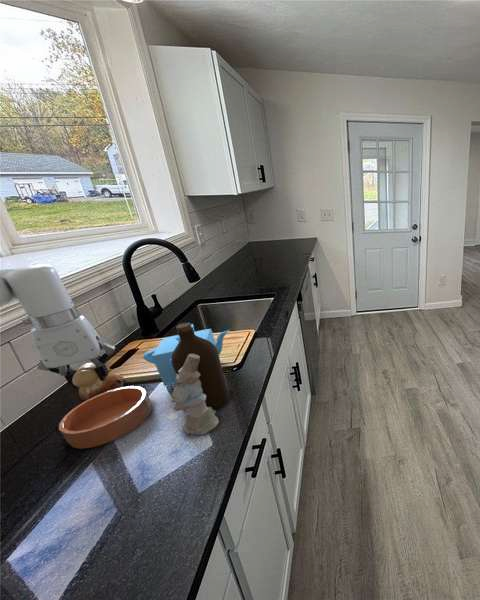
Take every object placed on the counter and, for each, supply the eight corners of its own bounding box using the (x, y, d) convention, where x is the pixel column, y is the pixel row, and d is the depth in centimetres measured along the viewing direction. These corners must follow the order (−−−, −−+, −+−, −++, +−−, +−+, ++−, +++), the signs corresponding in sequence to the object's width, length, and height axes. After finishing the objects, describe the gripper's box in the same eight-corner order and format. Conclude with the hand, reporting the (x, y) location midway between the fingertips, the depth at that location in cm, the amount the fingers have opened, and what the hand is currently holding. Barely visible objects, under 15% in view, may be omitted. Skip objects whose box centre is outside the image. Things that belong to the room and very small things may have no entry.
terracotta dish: (55, 460, 74) (45, 444, 72) (82, 414, 89) (74, 400, 87) (146, 429, 82) (138, 415, 80) (157, 392, 96) (151, 378, 94)
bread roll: (104, 394, 103) (80, 379, 99) (132, 374, 104) (111, 359, 100) (90, 413, 94) (64, 398, 90) (122, 392, 96) (97, 376, 92)
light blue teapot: (150, 385, 100) (131, 345, 94) (204, 353, 115) (191, 318, 110) (189, 398, 92) (171, 356, 87) (240, 363, 108) (229, 325, 102)
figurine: (226, 411, 86) (204, 349, 78) (211, 436, 78) (185, 369, 70) (193, 415, 86) (168, 352, 78) (175, 439, 78) (145, 373, 70)
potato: (98, 387, 78) (90, 372, 76) (74, 394, 76) (65, 378, 74) (107, 371, 84) (100, 357, 82) (85, 377, 82) (77, 362, 80)
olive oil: (238, 399, 90) (212, 322, 81) (198, 421, 83) (164, 339, 74) (224, 385, 97) (198, 312, 87) (185, 404, 90) (153, 327, 80)
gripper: (-5, 334, 66) (39, 402, 73) (97, 314, 73) (129, 377, 80) (14, 321, 72) (53, 385, 79) (106, 303, 79) (135, 363, 87)
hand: (91, 380), depth 80 cm, fingers closed on potato, 4 cm apart
